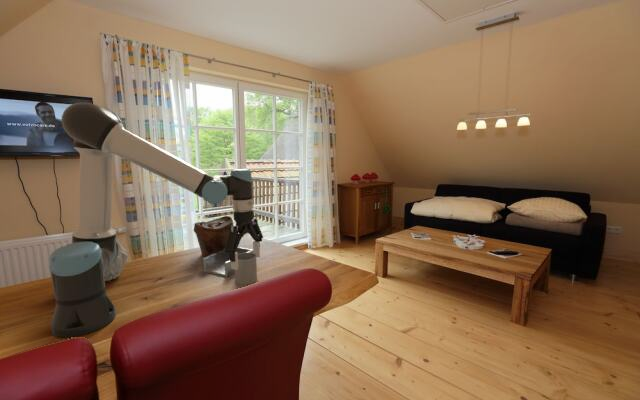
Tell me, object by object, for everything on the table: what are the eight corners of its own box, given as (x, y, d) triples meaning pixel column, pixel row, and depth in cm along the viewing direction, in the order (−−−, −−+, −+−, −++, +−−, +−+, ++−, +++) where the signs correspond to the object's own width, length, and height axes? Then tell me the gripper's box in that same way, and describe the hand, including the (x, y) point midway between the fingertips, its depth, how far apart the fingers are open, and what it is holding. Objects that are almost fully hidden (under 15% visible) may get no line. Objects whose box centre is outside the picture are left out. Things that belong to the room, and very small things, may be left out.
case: (186, 259, 140) (184, 222, 137) (209, 246, 160) (207, 213, 157) (221, 262, 137) (220, 224, 134) (240, 248, 157) (239, 215, 154)
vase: (89, 273, 125) (84, 230, 122) (134, 267, 131) (130, 226, 128) (74, 290, 110) (67, 241, 107) (125, 283, 116) (120, 237, 113)
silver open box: (227, 277, 122) (226, 263, 121) (204, 271, 127) (203, 258, 126) (254, 262, 138) (253, 249, 137) (232, 257, 143) (232, 245, 142)
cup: (231, 283, 116) (229, 258, 115) (242, 274, 124) (241, 251, 122) (250, 286, 114) (249, 261, 112) (260, 277, 122) (259, 253, 120)
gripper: (228, 217, 101) (232, 276, 105) (270, 204, 124) (272, 253, 128) (211, 216, 105) (216, 273, 108) (255, 203, 127) (257, 251, 131)
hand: (246, 262), depth 118 cm, fingers open, 13 cm apart
